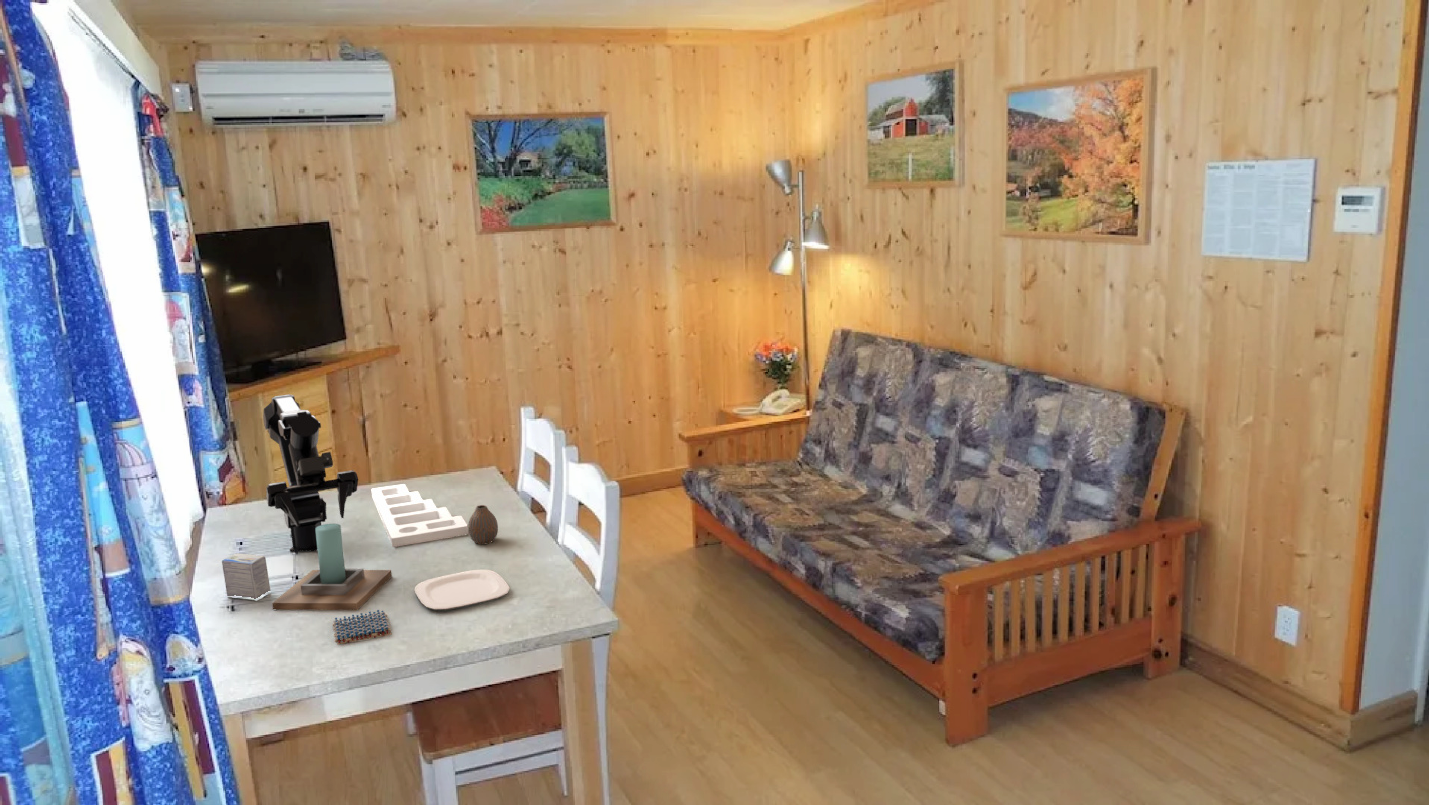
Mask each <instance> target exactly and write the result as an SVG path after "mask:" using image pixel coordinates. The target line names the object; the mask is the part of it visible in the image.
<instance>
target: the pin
mask: <svg viewBox="0 0 1429 805" xmlns="http://www.w3.org/2000/svg"><path fill="white" fill-rule="evenodd" d="M315 530H316V540H317V550H316V551H317V556H318V567H319V569H318V570H320V579H321V584H342V583H344V582H345V581H346V575H345V569H346V566H345V558H344V556H345V555H344V547H343V537H342V536H343V535H342V526H341V524H339V523H325V524H321V525H320V526H318V527H316V529H315Z"/></svg>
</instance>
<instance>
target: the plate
mask: <svg viewBox="0 0 1429 805" xmlns="http://www.w3.org/2000/svg"><path fill="white" fill-rule="evenodd" d="M510 589H511V588H510V586H509V584H508V583H507V582H506V580H505V579H504V578H503V577H502V575H500V574H498V573H497V572H496V571H493V570H490V569H472V570H466V571H462V572H456V573H451V574H445V575H442V576H438V577H433V578H429V579H425V580H424V581H422V582H418V584H416V586H415V587H414V593H415V596H416V597H417V598H418V600H419V602H420V603H421V604H422V605H423V606H424V607H425V608H427V609H429V610H433V611H447V610H455V609H460V608H466V607H470V606H474V605H479V604H483V603H486V602H490V601H496V600H497V599H500V598H502V597H504V596H506V595H509V594H508V593H509V592H510V591H511V590H510Z"/></svg>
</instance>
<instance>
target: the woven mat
mask: <svg viewBox="0 0 1429 805" xmlns="http://www.w3.org/2000/svg"><path fill="white" fill-rule="evenodd" d="M387 616H388V614H387V613H386V612H385V610H381V611H380V610H379V609H377V610H376V611H373V612H371V610H370V611H368V614H367V613H364V614H363V612H360V615H358V614H357V615H356V616H355V615H354V614H352V615H351V616H346V615H344V616H343V619H342V618H341V617H340V618H339V619H338V617H335V618H334V619H335V620H334V621H333V623H332V627H333V631H334V636H333V637H334V638H335V640H334V642H336V644H337V646H338V645H342V644H343V645H344V644H347V643H348V644H349V643H354V642H359V641H364V640H370V639H376V638H380V637H384V636H385V637H386V636H390V635H392V629H391V628H392V627H391V625H390V622H389V618H388V617H387Z"/></svg>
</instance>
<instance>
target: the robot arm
mask: <svg viewBox="0 0 1429 805" xmlns="http://www.w3.org/2000/svg"><path fill="white" fill-rule="evenodd" d="M262 413H263V414H262V420H263V427H264V430H267V432H268V434H269V439H271V440H272V441H274V442H275V443H276V444H278V446H279V449H280V454H281V459H282V462H283V466H284V470H285V475H286V478H287V482H286V481H280V482H279V481H278V482H273V483H268V484H267V486H266V488H265V489H266V492H265V493H266V501H267V507H270V508H271V507H275V509H277V510H281V511H282V512H283V516H284V517H283V518H284V521H285V523H284V524H285V525H286V527H287V528H288V529H290V536H291V544H292V546H291V547H290V548H289V552H316V551H318V550H317V540H316V530H315V529H316V527H318V526H320V525H322V523H324V522H326V520H327V519H328V518H327V502H326V501H325V500H324V498H323V497H322V496H320V493H319V492H320V491H328V490H333V489H337V492H338V493H337V500H338V509H339V515H340V518H341V519H344V516H345V507H346V502H347V499H348V497H350V496H352V495H353V494H354V493H356V492H357V491H358V484H359V476H358V474H357V472H356V471H354V469H353V470H346V471H339V472H337V473H336V478H335V479H328V480H325V479H326V477H327V473H326V469H329V468H333V466H334V461H333V456H332V453H331V452H332V451H328V452H322V453H321V454H320V453H319V451H318V447H317V445H318V442H319V435H320V434H319V433H320V429H321V428H322V424H321V422H320V421H319V420H318V419H317V418H316V417H315V415H312V412H311V411H309V410H308V409H301V406H300V404H299V403H298V402H297V401H296V399H295V395H293V394H283V395H277V396H276V395H275V396H273V397H271V402H270V403H269V404H268V405H266V406H265V407H264V408H263V411H262ZM319 454H320V455H319ZM287 483H288V484H287ZM287 485H288V486H287Z"/></svg>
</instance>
